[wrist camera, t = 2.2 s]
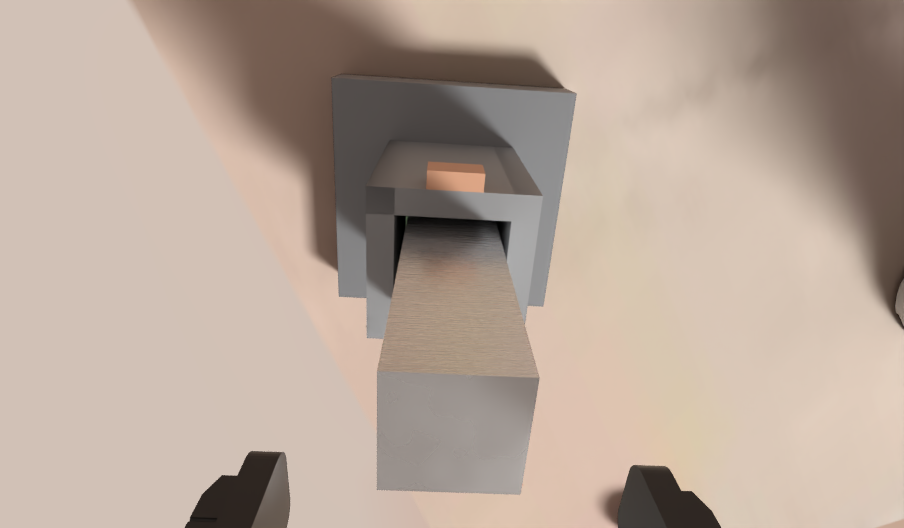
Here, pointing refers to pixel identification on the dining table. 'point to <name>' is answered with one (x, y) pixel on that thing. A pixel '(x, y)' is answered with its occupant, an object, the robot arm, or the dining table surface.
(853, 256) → the dining table surface
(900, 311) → the canister
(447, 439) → the column
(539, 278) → the stand
